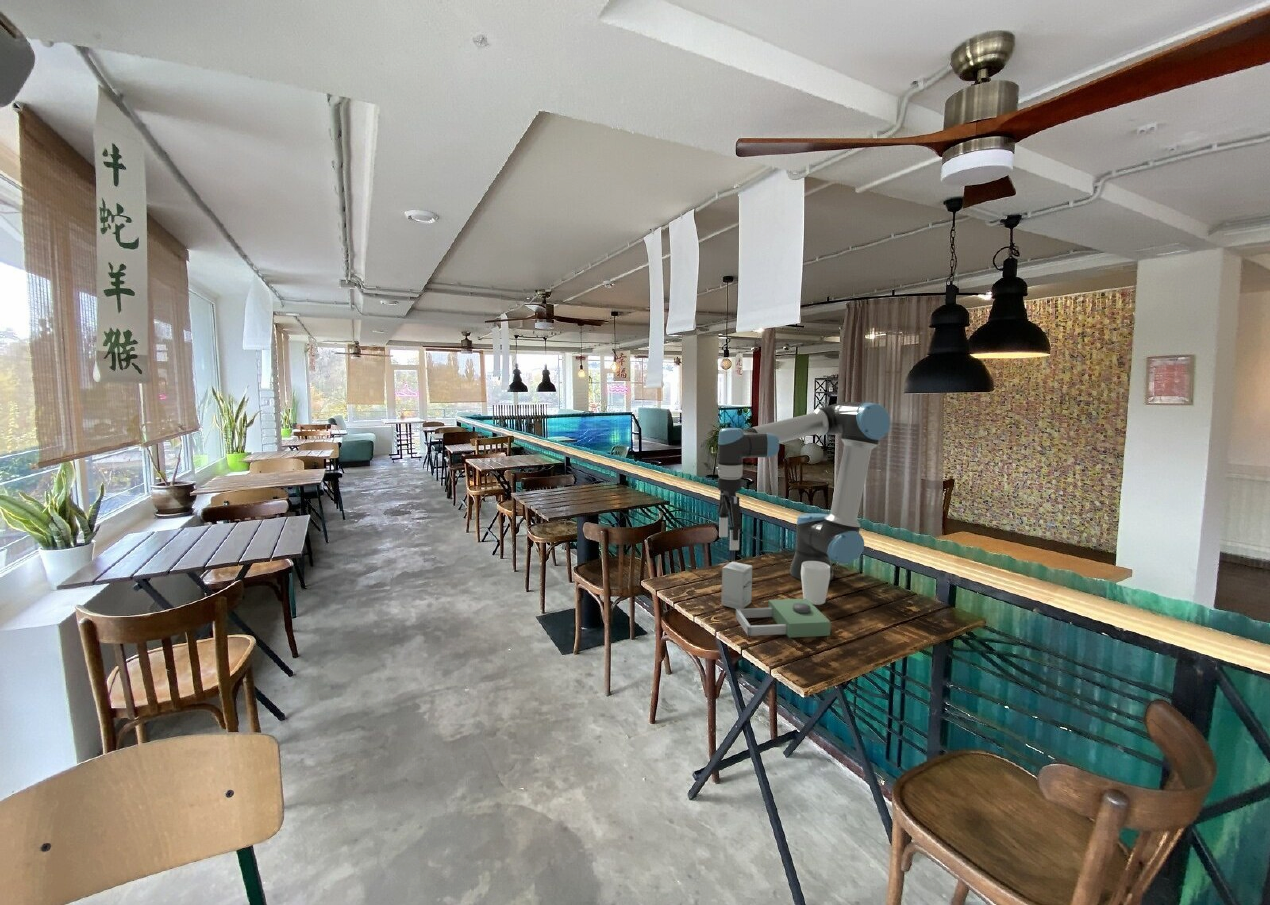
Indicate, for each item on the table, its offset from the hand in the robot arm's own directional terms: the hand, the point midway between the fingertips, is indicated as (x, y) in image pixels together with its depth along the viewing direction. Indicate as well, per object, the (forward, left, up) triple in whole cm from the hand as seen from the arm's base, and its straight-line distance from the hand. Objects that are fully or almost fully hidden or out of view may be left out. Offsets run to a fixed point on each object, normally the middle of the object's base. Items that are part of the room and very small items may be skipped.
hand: (728, 543), depth 162 cm
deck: (-11, +17, -20) cm, 28 cm away
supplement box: (-3, +2, -20) cm, 20 cm away
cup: (-28, +2, -20) cm, 35 cm away
